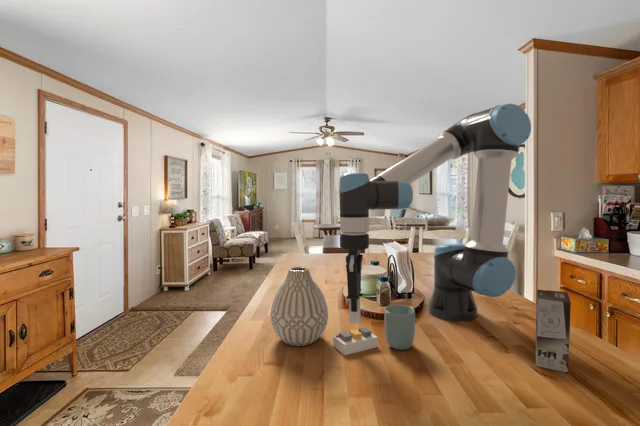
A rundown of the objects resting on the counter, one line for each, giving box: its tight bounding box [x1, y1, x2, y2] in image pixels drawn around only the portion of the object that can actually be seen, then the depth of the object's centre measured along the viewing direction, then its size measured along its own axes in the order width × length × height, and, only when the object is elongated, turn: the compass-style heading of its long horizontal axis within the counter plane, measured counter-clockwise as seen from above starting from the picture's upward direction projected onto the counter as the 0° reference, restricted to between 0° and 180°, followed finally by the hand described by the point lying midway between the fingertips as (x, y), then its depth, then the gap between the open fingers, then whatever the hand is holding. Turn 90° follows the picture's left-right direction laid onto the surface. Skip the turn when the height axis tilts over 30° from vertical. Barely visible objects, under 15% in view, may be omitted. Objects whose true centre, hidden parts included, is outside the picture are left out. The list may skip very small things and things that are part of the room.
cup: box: [384, 304, 416, 351], centre depth 91 cm, size 8×8×10 cm
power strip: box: [332, 326, 379, 356], centre depth 92 cm, size 10×6×4 cm, turn 116°
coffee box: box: [535, 289, 572, 373], centre depth 82 cm, size 9×6×16 cm
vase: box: [269, 266, 329, 347], centre depth 96 cm, size 16×16×20 cm
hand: (354, 321), depth 91 cm, fingers closed
